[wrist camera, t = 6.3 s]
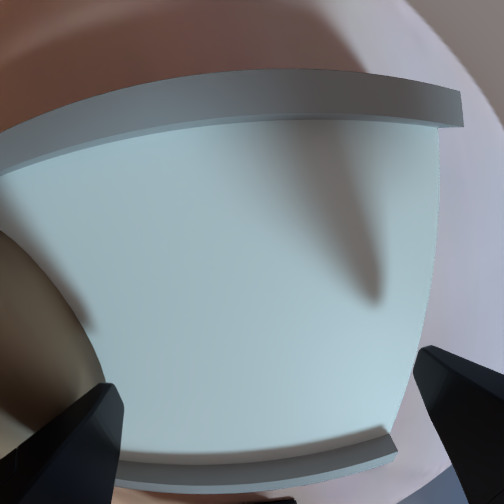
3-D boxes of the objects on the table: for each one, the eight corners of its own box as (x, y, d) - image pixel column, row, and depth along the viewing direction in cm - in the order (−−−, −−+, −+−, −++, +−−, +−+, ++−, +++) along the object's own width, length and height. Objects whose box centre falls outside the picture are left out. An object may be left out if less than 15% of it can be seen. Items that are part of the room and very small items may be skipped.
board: (365, 406, 14) (401, 479, 9) (-38, 391, 13) (-65, 428, 8) (388, 106, 9) (489, 86, 4) (-102, 218, 8) (-147, 240, 3)
